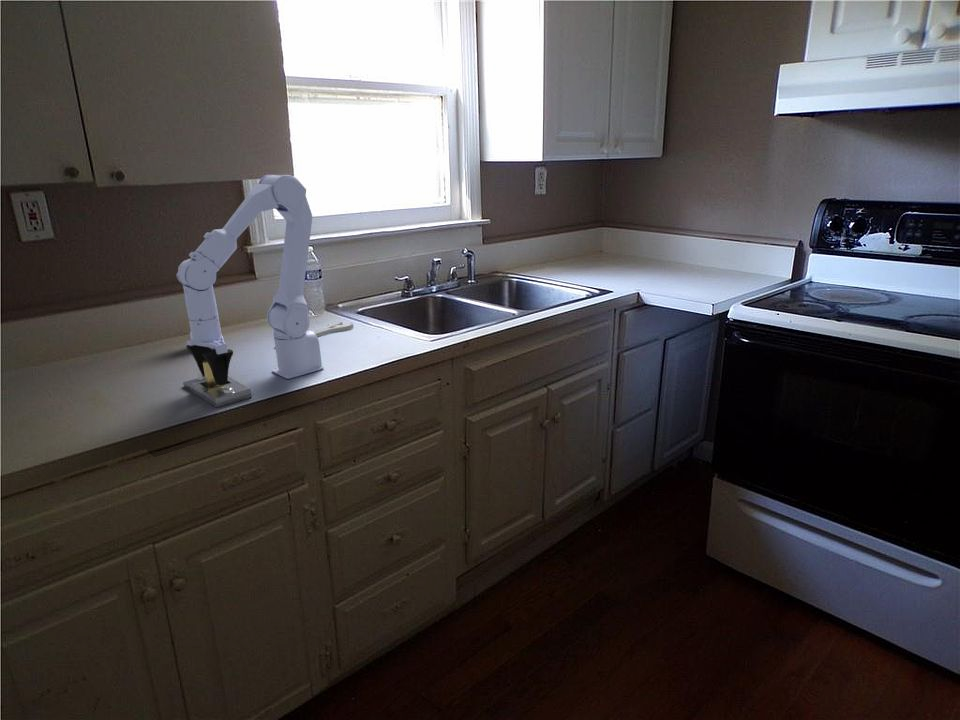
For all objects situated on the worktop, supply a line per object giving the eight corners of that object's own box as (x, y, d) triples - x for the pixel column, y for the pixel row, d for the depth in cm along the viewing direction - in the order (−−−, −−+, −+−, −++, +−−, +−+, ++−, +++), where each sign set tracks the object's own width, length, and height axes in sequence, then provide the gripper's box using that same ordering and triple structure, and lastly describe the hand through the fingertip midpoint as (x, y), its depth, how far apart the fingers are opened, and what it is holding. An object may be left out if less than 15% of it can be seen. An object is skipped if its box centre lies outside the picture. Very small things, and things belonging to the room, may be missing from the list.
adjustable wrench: (279, 351, 164) (278, 344, 163) (266, 346, 168) (265, 340, 167) (356, 328, 181) (356, 323, 180) (343, 325, 185) (342, 319, 185)
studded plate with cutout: (216, 377, 144) (215, 367, 143) (251, 397, 132) (249, 386, 131) (183, 386, 139) (181, 375, 138) (216, 407, 127) (214, 396, 126)
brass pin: (220, 387, 138) (215, 357, 136) (229, 391, 136) (223, 360, 133) (205, 392, 135) (199, 361, 133) (213, 396, 133) (207, 365, 131)
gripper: (171, 315, 132) (182, 375, 137) (197, 327, 122) (209, 392, 127) (204, 309, 137) (215, 367, 141) (232, 320, 127) (242, 382, 131)
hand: (214, 378), depth 134 cm, fingers open, 7 cm apart
